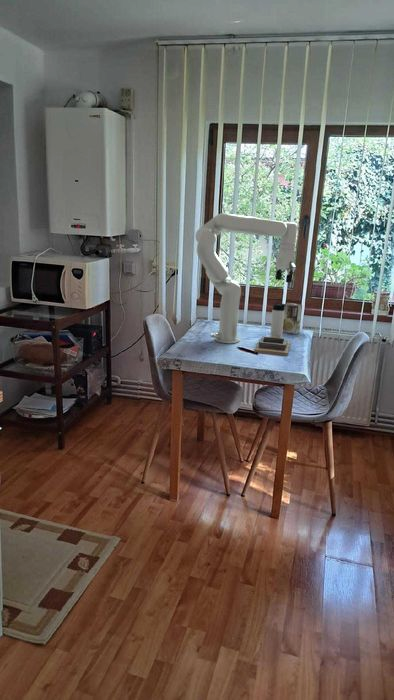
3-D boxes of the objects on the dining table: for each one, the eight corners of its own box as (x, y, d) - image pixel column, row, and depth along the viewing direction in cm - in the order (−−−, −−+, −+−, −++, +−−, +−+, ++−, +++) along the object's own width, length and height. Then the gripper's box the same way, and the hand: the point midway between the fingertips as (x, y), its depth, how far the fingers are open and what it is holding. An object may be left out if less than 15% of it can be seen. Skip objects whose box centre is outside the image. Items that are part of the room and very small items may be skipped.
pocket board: (287, 355, 233) (288, 347, 232) (254, 352, 236) (254, 344, 235) (290, 344, 253) (291, 336, 252) (259, 341, 257) (260, 333, 256)
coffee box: (300, 332, 280) (302, 304, 276) (295, 334, 275) (298, 306, 271) (285, 329, 285) (287, 302, 280) (280, 331, 280) (283, 303, 275)
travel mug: (279, 342, 256) (283, 305, 250) (268, 340, 259) (271, 303, 254) (284, 340, 261) (287, 303, 256) (272, 338, 264) (275, 301, 259)
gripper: (271, 245, 254) (268, 278, 259) (290, 248, 239) (286, 283, 243) (284, 246, 257) (280, 278, 262) (303, 249, 242) (299, 283, 247)
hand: (283, 280), depth 253 cm, fingers open, 9 cm apart
